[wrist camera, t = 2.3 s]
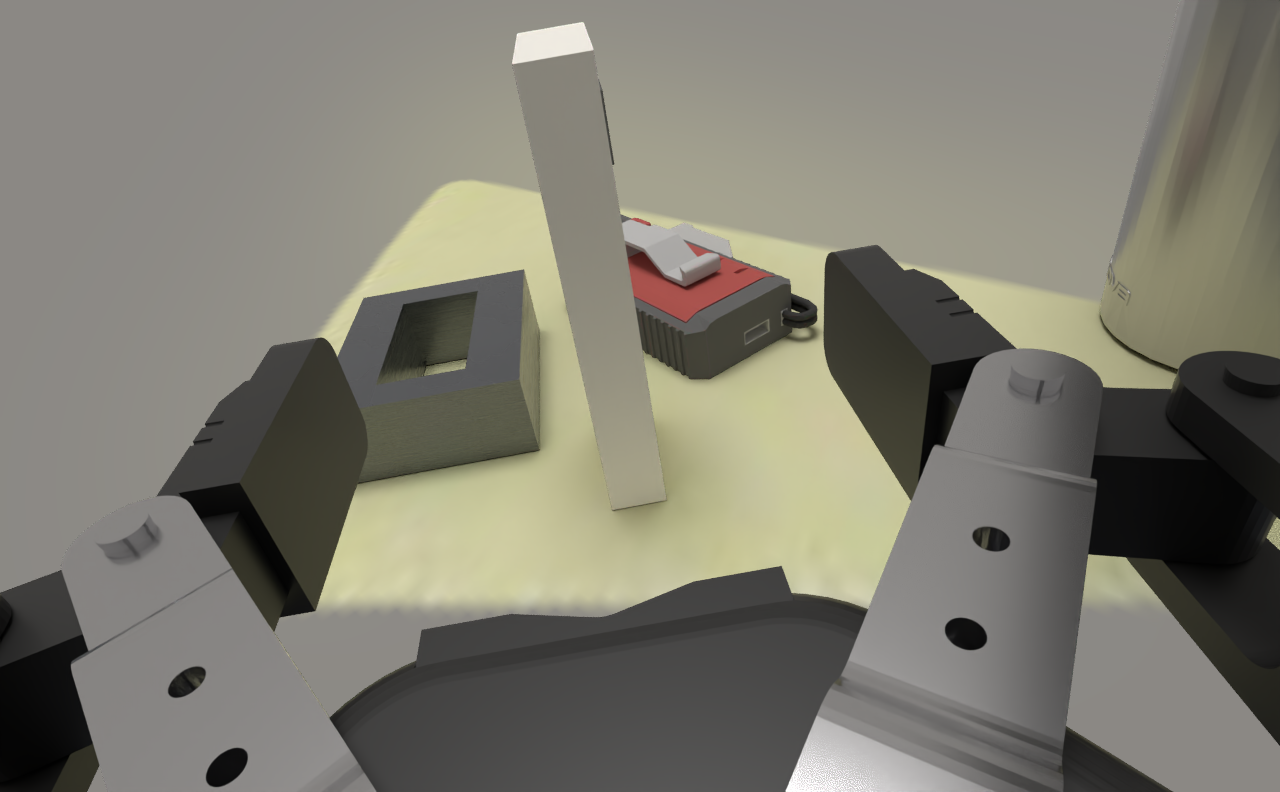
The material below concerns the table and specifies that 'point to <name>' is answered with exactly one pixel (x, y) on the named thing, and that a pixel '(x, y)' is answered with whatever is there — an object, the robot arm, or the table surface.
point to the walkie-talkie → (705, 299)
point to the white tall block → (590, 251)
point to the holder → (445, 374)
